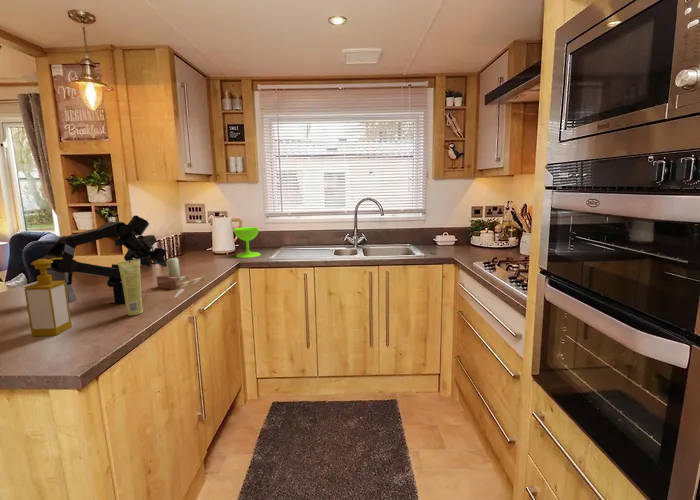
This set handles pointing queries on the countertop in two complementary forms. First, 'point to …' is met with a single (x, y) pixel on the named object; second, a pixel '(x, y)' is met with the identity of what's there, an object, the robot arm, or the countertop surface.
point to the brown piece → (175, 281)
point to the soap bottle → (47, 303)
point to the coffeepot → (68, 280)
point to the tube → (131, 285)
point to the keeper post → (173, 268)
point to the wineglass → (247, 240)
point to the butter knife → (179, 292)
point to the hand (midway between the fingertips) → (157, 266)
